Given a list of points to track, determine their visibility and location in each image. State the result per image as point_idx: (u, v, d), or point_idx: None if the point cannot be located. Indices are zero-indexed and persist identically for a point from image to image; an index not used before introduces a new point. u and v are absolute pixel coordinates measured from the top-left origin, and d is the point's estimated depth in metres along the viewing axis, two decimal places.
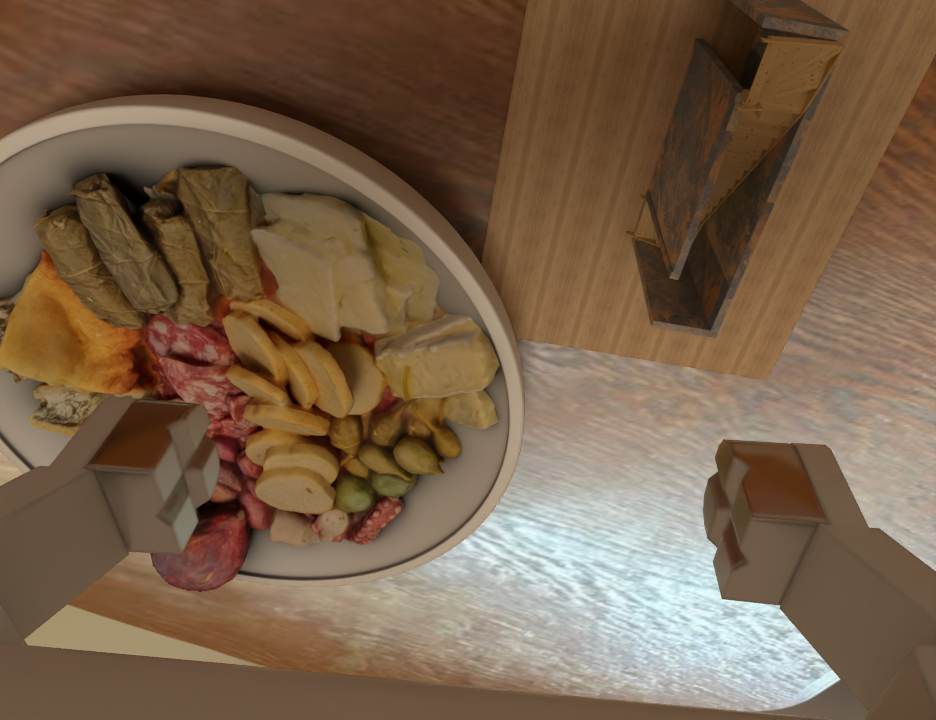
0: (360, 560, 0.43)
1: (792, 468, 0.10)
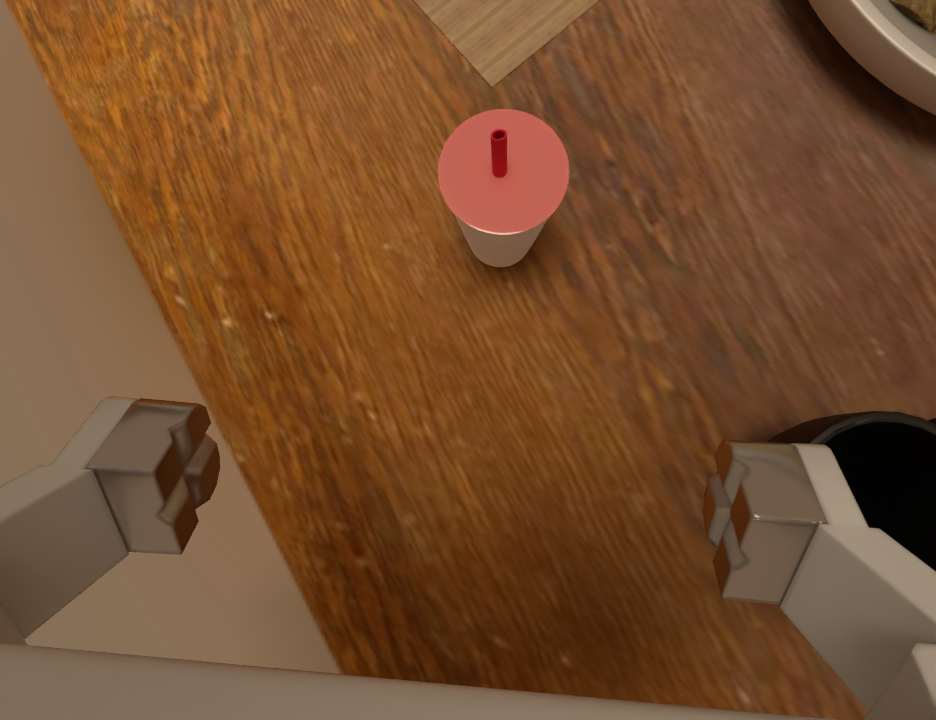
0: None
1: (792, 468, 0.10)
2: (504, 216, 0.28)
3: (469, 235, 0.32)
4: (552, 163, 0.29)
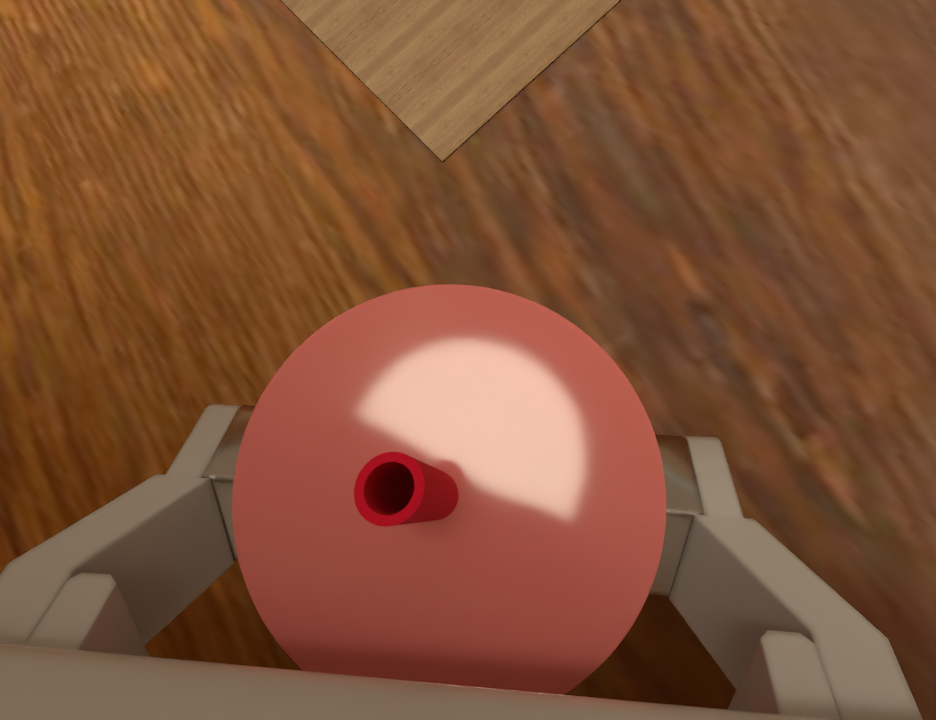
0: None
1: (678, 460, 0.10)
2: (457, 659, 0.08)
3: None
4: (607, 462, 0.09)
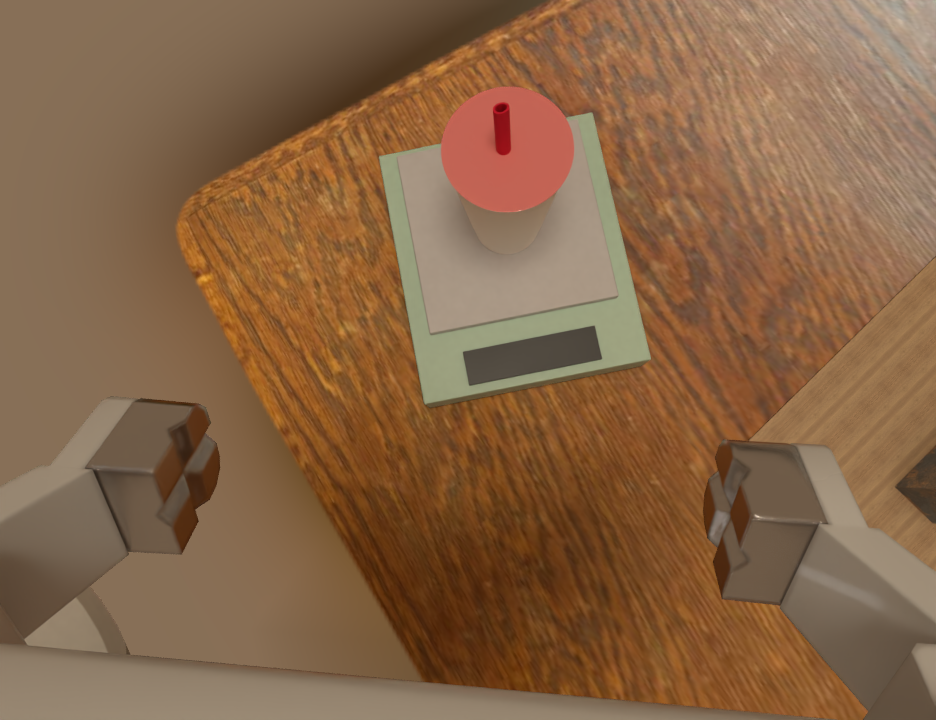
0: None
1: (792, 468, 0.10)
2: (511, 193, 0.28)
3: (476, 219, 0.31)
4: (556, 137, 0.28)
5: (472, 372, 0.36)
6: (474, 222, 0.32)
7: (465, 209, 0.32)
